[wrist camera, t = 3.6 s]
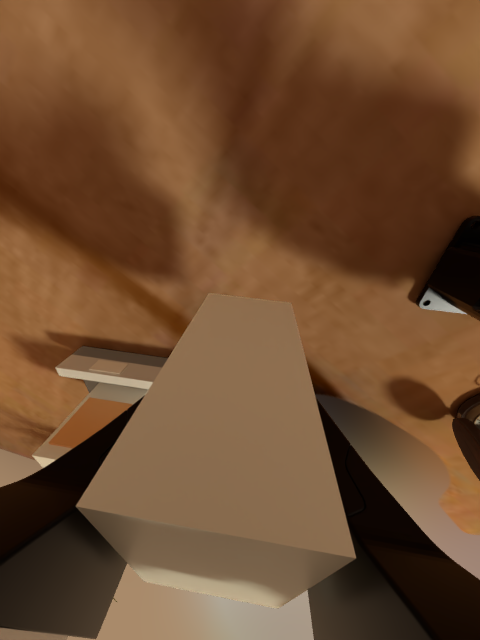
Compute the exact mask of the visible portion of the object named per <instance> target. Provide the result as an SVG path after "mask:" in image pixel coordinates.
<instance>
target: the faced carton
mask: <svg viewBox="0 0 480 640" xmlns="http://www.w3.org/2000/svg"><path fill="white" fill-rule="evenodd" d="M147 391H148V390H145V389H139V388H132V387H126V386H119V385H113V384H106V383H98V385H97V386H96V387H95V388H94V389H93V390H92V391H91V392H90V393H89V394H88V395H87V396H86V398H85V399H84V400H83V401H82V402H81V403H80V404H79V405H78V406H77V407H76V408H75V409H74V411H73V412H72V413H71V414H70V415H69V416H68V417H67V418H66V419H65V420H64V421H63V422H62V423H61V425H60V426H59V427H58V428H57V429H56V430H55V431H54V432H53V433H52V434H51V435H50V436H49V438H48V439H47V440H46V441H45V442H44V443H43V444H42V445H41V446H40V447H39V448H38V449H37V451H36V452H35V453H34V454H33V455H32V456H33V457H34V458H35V459H36V460H37V461H38V463H39V464H40V465H41V466H42V467H43V468H44V467H46V466H47V465H49V464H50V463H52V462H53V461H55V460H56V459H58V458H59V457H61V456H62V455H64V454H65V453H67V452H68V451H70V450H71V449H73V448H74V447H76V446H77V445H79V444H80V443H82V442H83V441H85V440H86V439H87V438H89V437H90V436H92V435H93V434H95V433H96V432H98V431H99V430H100V429H102V428H103V427H105V426H106V425H107V424H109V423H110V422H111V421H112V420H114V419H115V418H116V417H118V416H119V415H120V414H122V413H123V412H124V411H125V410H127V409H128V408H129V407H130V406H132V405H133V404H134V403H136V402H137V401H138V400H139V399H141V398H142V397H143V396H144V395H146V393H147Z"/></svg>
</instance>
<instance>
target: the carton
mask: <svg viewBox="0 0 480 640" xmlns="http://www.w3.org/2000/svg"><path fill="white" fill-rule="evenodd" d="M76 507H77V508H78V510H79V511H80V512H81V513H82V514H83V515H84V516H85V517H86V518H87V519H88V521H89V522H90V523H91V524H92V525H93V526H94V527H95V528H96V529H97V530H98V531H99V533H100V534H101V535H102V536H103V537H104V538H105V539H106V540H107V541H108V542H109V544H110V545H111V546H112V547H113V548H114V549H115V550H116V551H117V552H118V553H119V555H120V556H121V557H122V558H123V559H124V560H125V561H126V562H127V563H128V564H129V565H130V567H131V568H132V569H133V570H134V571H135V572H136V573H137V574H138V575H139V576H140V577H141V579H142V580H143V581H144V582H149V583H153V584H158V585H163V586H168V587H173V588H179V589H183V590H188V591H193V592H198V593H203V594H208V595H213V596H218V597H223V598H228V599H232V600H237V601H242V602H247V603H252V604H257V605H262V606H267V607H272V608H279V607H281V606H283V605H284V604H286V603H287V602H289V601H291V600H292V599H294V598H295V597H297V596H298V595H300V594H301V593H303V592H304V591H306V590H308V589H309V588H311V587H312V586H314V585H316V584H317V583H319V582H320V581H322V580H323V579H325V578H326V577H328V576H330V575H331V574H333V573H334V572H336V571H337V570H339V569H341V568H342V567H344V566H345V565H347V564H348V563H350V562H351V561H353V560H355V559H356V555H355V551H354V547H353V543H352V539H351V535H350V531H349V527H348V524H347V520H346V516H345V512H344V508H343V504H342V500H341V496H340V492H339V488H338V484H337V480H336V476H335V472H334V468H333V464H332V461H331V457H330V453H329V449H328V445H327V441H326V437H325V433H324V429H323V425H322V421H321V417H320V413H319V409H318V405H317V401H316V398H315V394H314V390H313V386H312V382H311V378H310V374H309V370H308V366H307V362H306V358H305V354H304V350H303V346H302V342H301V338H300V334H299V331H298V327H297V323H296V319H295V315H294V311H293V307H292V303H290V302H282V301H273V300H265V299H256V298H248V297H240V296H231V295H223V294H214V293H209V294H208V295H207V297H206V298H205V300H204V302H203V303H202V305H201V306H200V308H199V310H198V311H197V313H196V314H195V316H194V318H193V319H192V321H191V322H190V324H189V326H188V327H187V329H186V331H185V332H184V334H183V335H182V337H181V339H180V340H179V342H178V343H177V345H176V347H175V348H174V350H173V351H172V353H171V355H170V356H169V358H168V359H167V361H166V363H165V364H164V366H163V367H162V369H161V371H160V372H159V374H158V375H157V377H156V379H155V380H154V382H153V383H152V385H151V387H150V388H149V390H148V391H147V393H146V395H145V396H144V398H143V399H142V401H141V403H140V404H139V406H138V407H137V409H136V411H135V412H134V414H133V415H132V417H131V419H130V420H129V422H128V423H127V425H126V427H125V428H124V430H123V431H122V433H121V435H120V436H119V438H118V439H117V441H116V443H115V444H114V446H113V447H112V449H111V451H110V452H109V454H108V455H107V457H106V459H105V460H104V462H103V463H102V465H101V467H100V468H99V470H98V471H97V473H96V475H95V476H94V478H93V479H92V481H91V483H90V484H89V486H88V487H87V489H86V491H85V492H84V494H83V495H82V497H81V499H80V500H79V502H78V503H77V505H76Z"/></svg>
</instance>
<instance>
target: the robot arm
mask: <svg viewBox="0 0 480 640" xmlns="http://www.w3.org/2000/svg"><path fill="white" fill-rule="evenodd" d="M473 222H475V224H474V226H473V227H472V228H471V225H472V223H473ZM426 300H427V302H426V303H424V304H423V302H424V301H426ZM416 304H417V305H418V306H419V307H420V308H423V309H430V310H438V311H446V312H455V313H463V314H468V315H470V316H472V317H474V318H475V319H477V320H479V321H480V216H472V217H469V218H467V219H466V220H465V221H464V222H463V223H462V225H461V226H460V228H459V230H458V231H457V233H456V235H455V236H454V238H453V240H452V242H451V243H450V245H449V247H448V248H447V250H446V252H445V253H444V255H443V257H442V258H441V260H440V262H439V264H438V265H437V267H436V269H435V270H434V272H433V274H432V275H431V277H430V279H429V280H428V282H427V284H426V285H425V287H424V289H423V291H422V292H421V294H420V296H419V297H418V299H417V301H416ZM144 396H145V395H144ZM144 396H143V397H142V398H141V399H139V400H138V401H137V402H136V403H134V404H133V405H132V406H130V407H129V408H128V409H127V410H125V411H124V412H123V413H122V414H120V415H119V416H118V417H116V418H115V419H114V420H112V421H111V422H110V423H109V424H107V425H106V426H105V427H103V428H102V429H100V430H99V431H98V432H96V433H95V434H93V435H92V436H90V437H89V438H87V439H86V440H85V441H83V442H82V443H80V444H79V445H77V446H76V447H74V448H73V449H71V450H70V451H68V452H67V453H65V454H64V455H62V456H61V457H59V458H58V459H56V460H55V461H53V462H52V463H50V464H49V465H47V466H46V467H44V468H43V469H41V470H39V471H38V472H36V473H34V474H32V475H30V476H28V477H26V478H24V479H22V480H19V481H17V482H14V483H12V484H9V485H6V486H3V487H0V640H67V637H68V636H74V637H83V638H91V639H96V638H97V636H98V633H99V631H100V629H101V626H102V624H103V621H104V619H105V616H106V614H107V611H108V609H109V607H110V604H111V602H112V599H113V597H114V594H115V592H116V589H117V587H118V584H119V582H120V579H121V577H122V574H123V572H124V569H125V567H126V565H127V562H126V561H125V560H124V559H123V558H122V557H121V556H120V555H119V553H118V552H117V551H116V550H115V549H114V548H113V547H112V546H111V545H110V544H109V542H108V541H107V540H106V539H105V538H104V537H103V536H102V535H101V534H100V533H99V531H98V530H97V529H96V528H95V527H94V526H93V525H92V524H91V523H90V522H89V521H88V519H87V518H86V517H85V516H84V515H83V514H82V513H81V512H80V511H79V510H78V508H77V507H76V505H77V503H78V502H79V500H80V499H81V497H82V495H83V494H84V492H85V491H86V489H87V487H88V486H89V484H90V483H91V481H92V479H93V478H94V476H95V475H96V473H97V471H98V470H99V468H100V467H101V465H102V463H103V462H104V460H105V459H106V457H107V455H108V454H109V452H110V451H111V449H112V447H113V446H114V444H115V443H116V441H117V439H118V438H119V436H120V435H121V433H122V431H123V430H124V428H125V427H126V425H127V423H128V422H129V420H130V419H131V417H132V415H133V414H134V412H135V411H136V409H137V407H138V406H139V404H140V403H141V401H142V399H143V398H144ZM315 398H316V397H315ZM316 401H317V405H318V409H319V413H320V417H321V421H322V425H323V429H324V433H325V437H326V441H327V445H328V449H329V453H330V457H331V461H332V464H333V468H334V472H335V476H336V480H337V484H338V488H339V492H340V496H341V500H342V504H343V508H344V512H345V516H346V520H347V524H348V527H349V531H350V535H351V539H352V543H353V547H354V551H355V555H356V559H355V560H353V561H351V562H350V563H348V564H347V565H345V566H344V567H342V568H341V569H339V570H337V571H336V572H334V573H333V574H331V575H330V576H328V577H326V578H325V579H323V580H322V581H320V582H319V583H317V584H316V585H314V586H312V587H311V588H309V589H308V596H309V604H310V612H311V619H312V627H313V634H314V640H480V580H479V579H478V578H476V577H475V576H474V575H472V574H471V573H470V572H468V571H467V570H465V569H464V568H463V567H461V566H460V565H459V564H457V563H456V562H454V561H453V560H452V559H451V558H450V557H449V556H447V555H446V554H445V553H444V552H443V551H442V550H441V549H440V548H438V547H437V546H436V545H435V544H434V543H433V542H432V541H431V540H430V539H429V537H428V536H427V535H426V534H425V533H424V532H423V531H422V530H421V529H420V527H419V526H418V525H417V524H416V523H415V522H414V520H413V519H412V518H411V517H410V516H409V515H408V513H407V512H406V511H405V510H404V509H403V508H402V507H401V506H400V504H399V503H398V502H397V501H396V500H395V498H394V497H393V496H392V495H391V494H390V493H389V492H388V490H387V489H386V488H385V487H384V486H383V484H382V483H381V482H380V481H379V480H378V478H377V477H376V476H375V475H374V474H373V473H372V471H371V470H370V469H369V467H368V466H367V465H366V464H365V462H364V461H363V460H362V459H361V457H360V456H359V455H358V453H357V452H356V451H355V449H354V448H353V447H352V446H351V445H350V443H349V441H348V440H347V439H346V437H345V436H344V435H343V433H342V432H341V431H340V429H339V428H338V426H337V425H336V424H335V422H334V421H333V420H332V419H331V417H330V416H329V414H328V413H327V412H326V410H325V409H324V408H323V406H322V405H321V404H320V403H319V401H318V400H317V398H316Z"/></svg>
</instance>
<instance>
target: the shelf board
mask: <svg viewBox="0 0 480 640" xmlns="http://www.w3.org/2000/svg"><path fill="white" fill-rule="evenodd" d="M167 359H168V358H163V357H156V356H149V355H142V354H135V353H128V352H121V351H114V350H107V349H100V348H93V347H86V346H82V347H81V348H79V349H78V350H77V351H75V352H74V353H73V354H72V355H70V356H69V357H68V358H67V359H65V360H64V361H63V362H61V363H60V364H59V365H58V366H56V367H55V368H56V370H57V372H58V374H59V375H60V376H64V377H70V378H77V379H83V380H84V382H85V384H86V387H87V389H88V391H89V393H90V392H91V391H92V390H93V389H94V388H95V387H96V386H97V385H98V383H106V384H113V385H119V386H126V387H132V388H139V389H145V390H149V388H150V387H151V385H152V383H153V382H154V380H155V379H156V377H157V375H158V374H159V372H160V371H161V369H162V367H163V366H164V364H165V363H166V361H167Z"/></svg>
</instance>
